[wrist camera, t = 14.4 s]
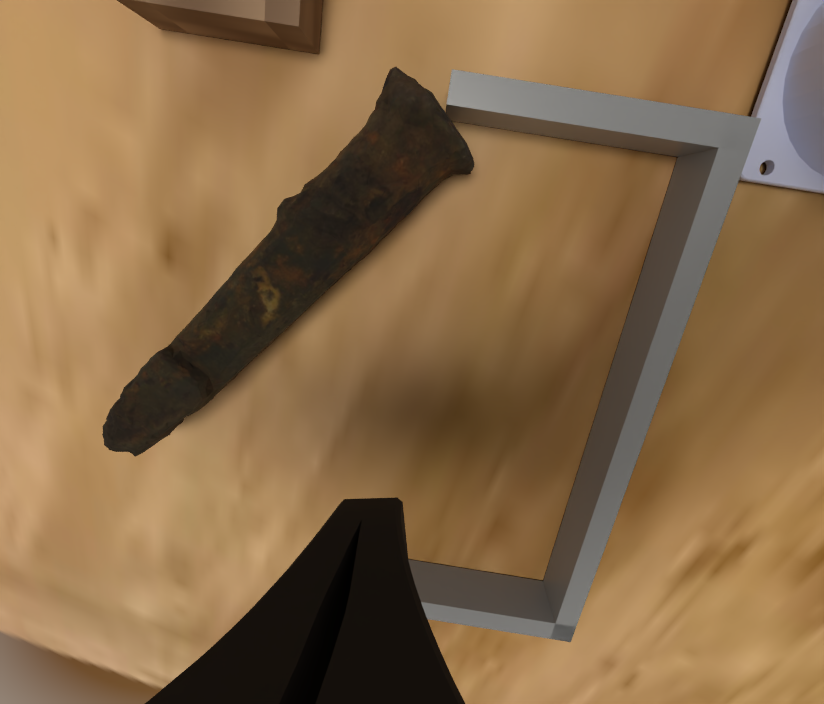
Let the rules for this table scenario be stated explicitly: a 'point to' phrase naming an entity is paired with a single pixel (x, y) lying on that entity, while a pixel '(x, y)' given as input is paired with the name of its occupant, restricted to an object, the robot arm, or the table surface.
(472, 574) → the u-shaped frame
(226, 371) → the hand tool
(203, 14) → the hollow square frame
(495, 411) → the table surface
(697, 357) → the table surface
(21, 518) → the table surface
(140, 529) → the table surface
